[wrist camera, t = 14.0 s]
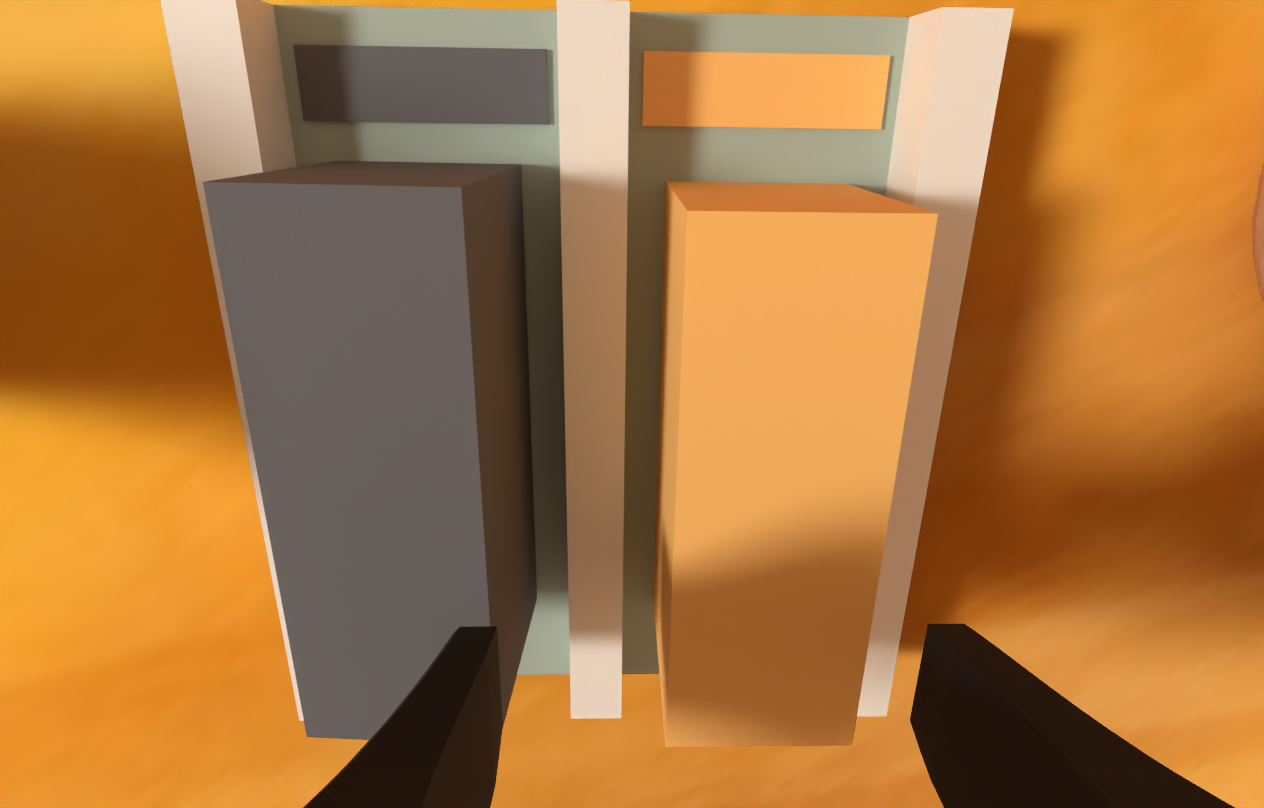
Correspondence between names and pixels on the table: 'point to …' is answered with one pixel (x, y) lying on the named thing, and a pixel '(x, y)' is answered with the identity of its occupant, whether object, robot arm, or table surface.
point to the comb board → (615, 223)
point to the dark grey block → (385, 416)
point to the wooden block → (778, 450)
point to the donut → (1259, 234)
